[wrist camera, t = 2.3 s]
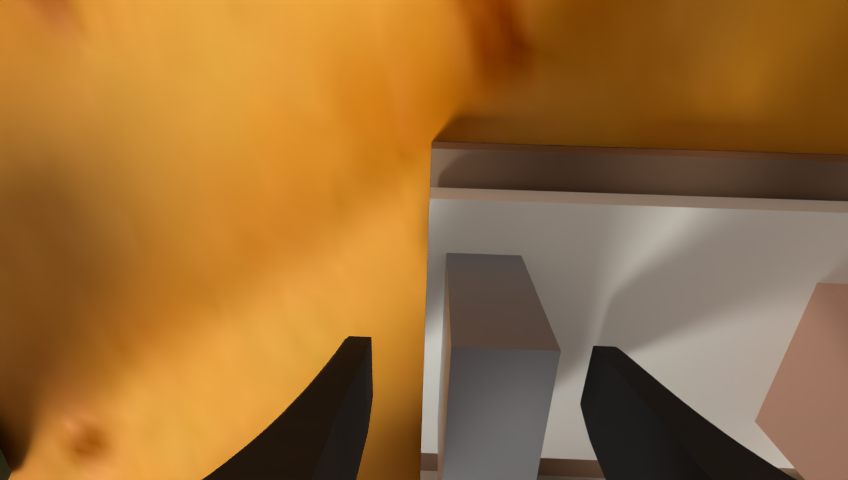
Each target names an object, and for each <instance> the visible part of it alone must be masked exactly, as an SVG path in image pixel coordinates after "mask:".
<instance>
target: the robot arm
mask: <svg viewBox="0 0 848 480" xmlns="http://www.w3.org/2000/svg"><path fill="white" fill-rule="evenodd" d="M372 398H373V382H372V345H371V337H355V336H349V337H348V338H346V339H345V340H344V342H343V343H342V345H341V346H340V347H339V349H338V350H337V351H336V353H335V354H334V355H333V357H332V358H331V359H330V360H329V362H328V363H327V364H326V365H325V367H324V368H323V369H322V370H321V371H320V373H319V374H318V375H317V376H316V377H315V379H314V380H313V381H312V382H311V383H310V384H309V386H308V387H307V388H306V389H305V390H304V391H303V392H302V393H301V394H300V395H299V396H298V397H297V399H296V400H295V401H294V402H293V403H292V404H291V405H290V406H289V407H288V408H287V409H286V410H285V411H284V412H283V413H282V414H281V415H280V416H279V417H278V418H277V419H276V420H275V421H274V422H273V423H272V424H271V425H269V426H268V427H267V428H266V429H265V430H264V431H263V432H262V433H261V434H259V435H258V436H257V437H256V438H255V439H254V440H253V441H251V442H250V443H249V444H248V445H247V446H245V447H244V448H243V449H242V450H240V451H239V452H238V453H237V454H236V455H234V456H233V457H232V458H231V459H229V460H228V461H227V462H226V463H224V464H223V465H222V466H220V467H219V468H218V469H216V470H215V471H214V472H212V473H211V474H210V475H208V476H207V477H205V478H204V479H202V480H356V477H357V473H358V470H359V466H360V462H361V458H362V454H363V450H364V446H365V442H366V437H367V433H368V428H369V421H370V413H371V406H372ZM580 406H581V410H582V414H583V418H584V422H585V426H586V429H587V433H588V436H589V440H590V442H591V445H592V448H593V450H594V453H595V455H596V457H597V460H598V462H599V465H600V467H601V470H602V472H603V475H604V477H605V479H606V480H796V479H795V478H793V477H791V476H790V475H788V474H786V473H785V472H783V471H781V470H780V469H778V468H777V467H775V466H773V465H772V464H770V463H769V462H767V461H766V460H764V459H763V458H761V457H760V456H758V455H757V454H755V453H754V452H752V451H750V450H749V449H747V448H746V447H744V446H743V445H741V444H740V443H738V442H737V441H736V440H734V439H733V438H731V437H730V436H728V435H727V434H726V433H724V432H723V431H721V430H720V429H719V428H717V427H716V426H715V425H713V424H712V423H711V422H709V421H708V420H707V419H705V418H704V417H703V416H701V415H700V414H699V413H697V412H696V411H695V410H693V409H692V408H691V407H690V406H688V405H687V404H686V403H684V402H683V401H682V400H681V399H679V398H678V397H677V396H676V395H675V394H673V393H672V392H671V391H670V390H668V389H667V388H666V387H665V386H664V385H662V384H661V383H660V382H659V381H657V380H656V379H655V378H654V377H653V376H652V375H650V374H649V373H648V372H647V371H646V370H644V369H643V368H642V367H641V366H640V365H638V364H637V363H636V362H635V361H634V360H632V359H631V358H630V357H629V356H628V355H626V354H625V353H624V352H623V351H621V350H620V349H619V348H617V347H615V346H593V349H592V353H591V357H590V362H589V366H588V371H587V375H586V379H585V384H584V388H583V393H582V397H581V402H580Z"/></svg>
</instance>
